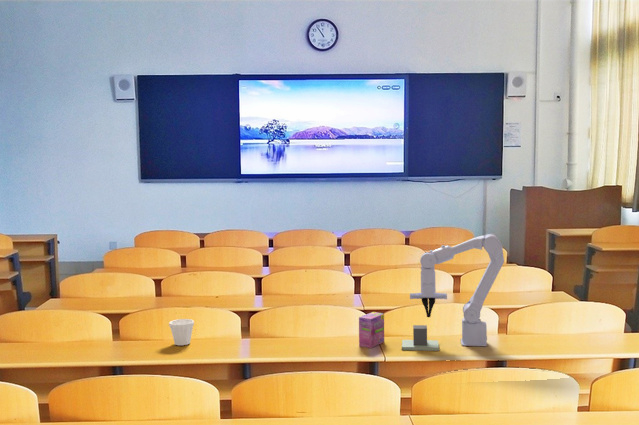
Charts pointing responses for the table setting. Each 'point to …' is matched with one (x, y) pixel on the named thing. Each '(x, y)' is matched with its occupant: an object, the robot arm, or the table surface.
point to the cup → (181, 331)
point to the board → (431, 346)
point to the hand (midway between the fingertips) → (428, 316)
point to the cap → (420, 335)
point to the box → (371, 329)
